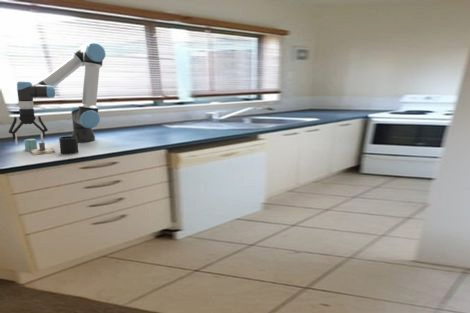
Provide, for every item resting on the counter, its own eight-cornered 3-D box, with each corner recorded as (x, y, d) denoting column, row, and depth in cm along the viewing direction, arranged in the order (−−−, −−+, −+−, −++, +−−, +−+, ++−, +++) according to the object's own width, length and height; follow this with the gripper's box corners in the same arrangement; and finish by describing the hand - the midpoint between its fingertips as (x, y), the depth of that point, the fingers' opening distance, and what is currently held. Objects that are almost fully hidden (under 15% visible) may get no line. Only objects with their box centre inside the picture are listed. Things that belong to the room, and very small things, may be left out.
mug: (70, 149, 217) (69, 135, 215) (81, 152, 210) (80, 137, 208) (55, 152, 210) (53, 137, 208) (65, 155, 203) (64, 139, 201)
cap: (36, 148, 220) (34, 138, 219) (37, 149, 216) (36, 139, 214) (24, 149, 217) (23, 139, 215) (26, 150, 212) (25, 140, 211)
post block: (51, 149, 217) (50, 140, 216) (55, 152, 209) (54, 143, 207) (30, 151, 210) (29, 142, 209) (33, 155, 202) (32, 145, 201)
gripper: (48, 107, 221) (51, 141, 226) (0, 108, 206) (4, 144, 211) (51, 108, 215) (53, 143, 220) (2, 109, 200) (6, 146, 205)
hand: (29, 143), depth 215 cm, fingers open, 13 cm apart
